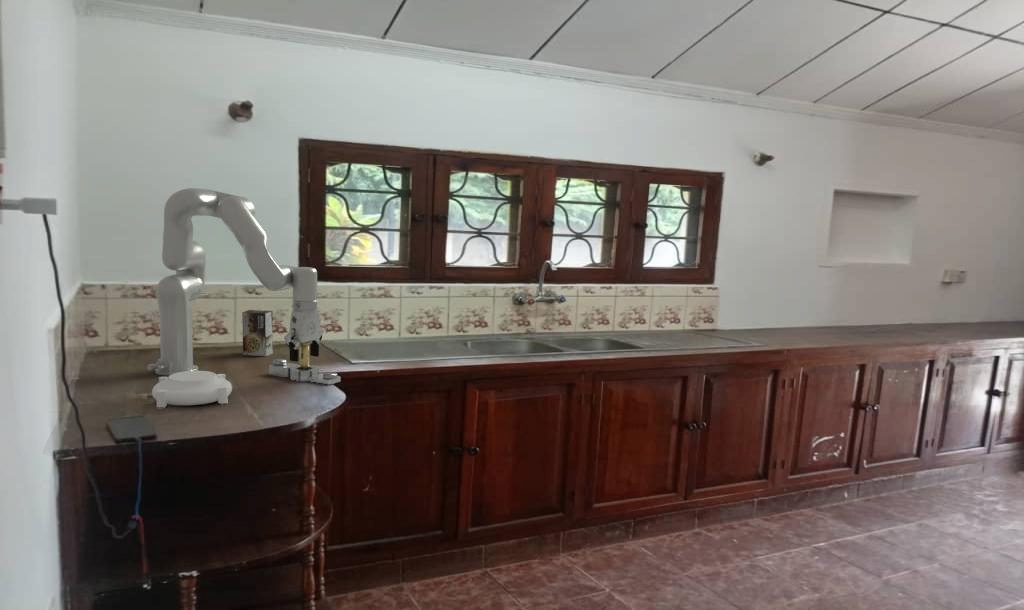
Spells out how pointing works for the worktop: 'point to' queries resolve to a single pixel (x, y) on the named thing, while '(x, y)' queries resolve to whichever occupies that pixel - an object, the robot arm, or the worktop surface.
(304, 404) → the worktop surface
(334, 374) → the link
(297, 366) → the link
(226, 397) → the round stand with pegs
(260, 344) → the coffee box
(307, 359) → the pin
